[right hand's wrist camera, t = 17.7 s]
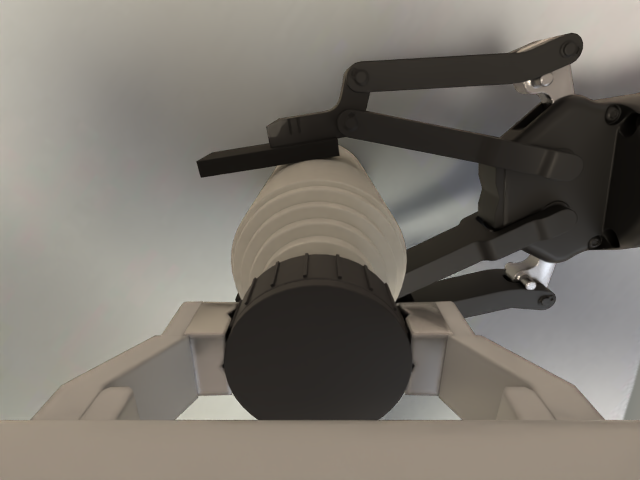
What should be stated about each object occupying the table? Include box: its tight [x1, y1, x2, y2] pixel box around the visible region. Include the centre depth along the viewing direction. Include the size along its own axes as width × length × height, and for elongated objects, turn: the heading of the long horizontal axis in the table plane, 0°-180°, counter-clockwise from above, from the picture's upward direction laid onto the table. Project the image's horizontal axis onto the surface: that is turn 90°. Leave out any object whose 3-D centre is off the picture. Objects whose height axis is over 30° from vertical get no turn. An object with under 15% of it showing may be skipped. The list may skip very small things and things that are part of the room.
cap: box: [224, 253, 412, 420], centre depth 9 cm, size 4×4×2 cm
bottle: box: [231, 145, 407, 301], centre depth 17 cm, size 7×7×17 cm
